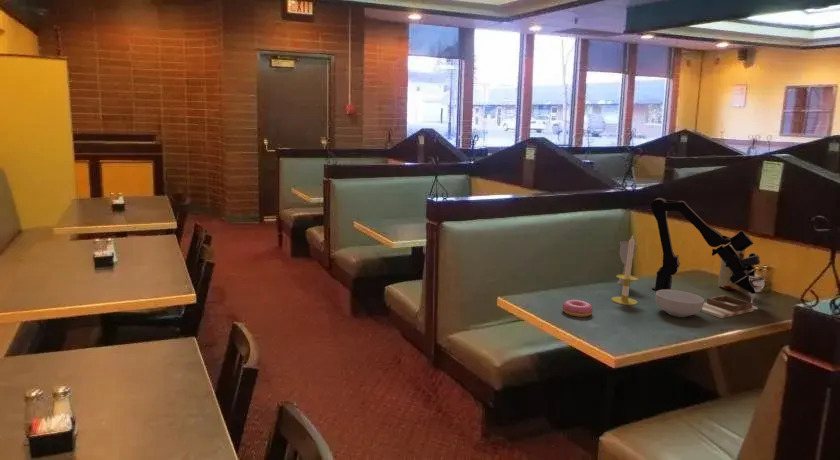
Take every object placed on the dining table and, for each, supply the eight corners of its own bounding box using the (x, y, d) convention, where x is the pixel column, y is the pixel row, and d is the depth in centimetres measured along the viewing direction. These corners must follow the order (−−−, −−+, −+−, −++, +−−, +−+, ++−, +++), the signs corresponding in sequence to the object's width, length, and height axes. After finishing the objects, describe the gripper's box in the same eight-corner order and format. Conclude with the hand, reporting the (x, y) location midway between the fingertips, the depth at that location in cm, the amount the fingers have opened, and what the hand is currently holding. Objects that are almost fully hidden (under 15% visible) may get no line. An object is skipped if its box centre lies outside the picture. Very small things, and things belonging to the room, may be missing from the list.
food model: (713, 286, 279) (720, 242, 275) (722, 285, 282) (729, 241, 279) (735, 292, 271) (742, 247, 267) (743, 291, 274) (750, 246, 271)
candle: (622, 296, 256) (630, 230, 250) (643, 303, 247) (652, 236, 242) (605, 299, 250) (613, 232, 245) (626, 306, 242) (635, 237, 237)
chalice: (633, 283, 276) (638, 243, 273) (631, 287, 270) (636, 245, 267) (615, 280, 279) (620, 240, 276) (613, 284, 273) (618, 243, 270)
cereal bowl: (682, 323, 226) (685, 304, 224) (644, 309, 239) (646, 291, 238) (711, 317, 235) (714, 299, 233) (672, 304, 248) (675, 287, 247)
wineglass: (759, 311, 246) (764, 281, 244) (740, 307, 250) (745, 278, 248) (761, 306, 252) (766, 277, 250) (742, 303, 256) (747, 274, 253)
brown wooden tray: (721, 318, 234) (722, 310, 234) (690, 307, 245) (691, 300, 245) (753, 311, 246) (754, 303, 245) (722, 301, 256) (723, 294, 256)
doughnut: (580, 307, 237) (581, 297, 237) (598, 317, 227) (600, 306, 227) (555, 309, 234) (556, 298, 233) (573, 319, 223) (574, 308, 223)
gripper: (743, 250, 242) (771, 284, 237) (753, 243, 256) (779, 275, 252) (718, 266, 248) (745, 299, 243) (729, 259, 262) (754, 290, 258)
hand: (756, 291), depth 249 cm, fingers open, 9 cm apart
